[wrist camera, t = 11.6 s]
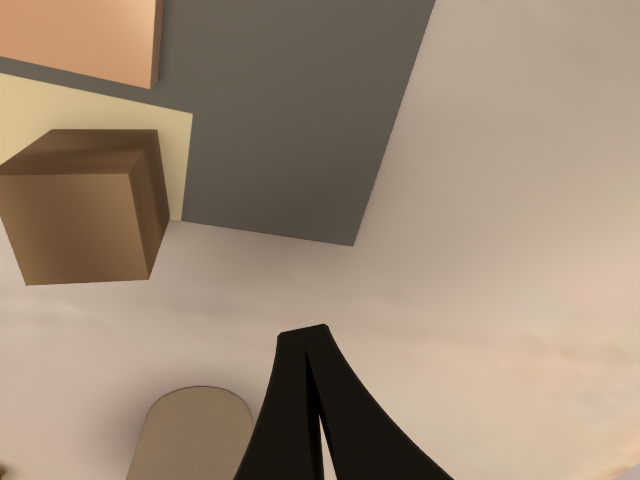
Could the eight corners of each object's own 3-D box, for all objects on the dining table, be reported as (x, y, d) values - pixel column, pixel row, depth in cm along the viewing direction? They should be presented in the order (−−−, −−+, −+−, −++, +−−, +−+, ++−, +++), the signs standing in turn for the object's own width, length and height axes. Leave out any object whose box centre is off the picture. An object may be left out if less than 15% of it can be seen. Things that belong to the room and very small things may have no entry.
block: (157, 129, 17) (128, 173, 13) (170, 216, 19) (148, 279, 15) (51, 129, 17) (-15, 175, 12) (76, 219, 19) (26, 285, 14)
